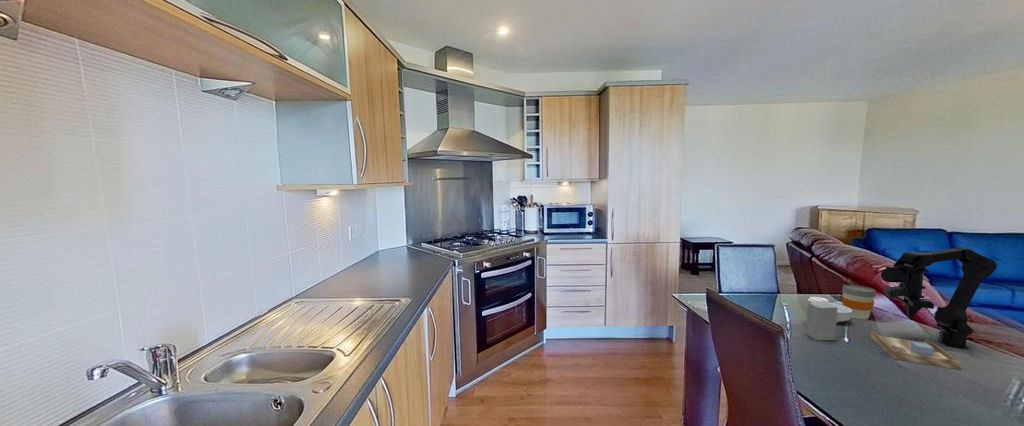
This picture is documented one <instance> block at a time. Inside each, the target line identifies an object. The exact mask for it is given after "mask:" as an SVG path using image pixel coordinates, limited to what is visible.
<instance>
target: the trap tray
mask: <svg viewBox="0 0 1024 426" xmlns="http://www.w3.org/2000/svg"><path fill="white" fill-rule="evenodd" d="M870 338H871V340H872V341H874V342H875V343H876V344H877V345H878V346H879V347H880V348H881V349H882V350H883V351H884V352H885V353H886V354H888V355H889V356H890V357H891V358H892V359H893V360H898V361H906V362H910V363H918V364H924V365H929V366H936V367H941V368H942V367H943V368H947V369H954V370H961V361H960V360H959V359H957V358H956V357H954V355H951V354H950V353H949V352H948V351H945V350H944V349H943V348H942V347H940V346H939V345H937V344H936V343H934V342H933V341H931V340H930V339H929V338H925V339H924V341H920V340H919V341H918V340H913V339H911V340H910V339H905V338H898V337H891V336H883V335H879V334H877V332H875V331H874V330H873V331H870ZM911 342H918V343H925V344H928V345H930V346H931V347H932V348H934V352H933V357H932V356H925V355H919V354H912V353H911V352H910V351H911Z"/></svg>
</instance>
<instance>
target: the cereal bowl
mask: <svg viewBox="0 0 1024 426" xmlns="http://www.w3.org/2000/svg"><path fill="white" fill-rule="evenodd" d="M829 303H830V304H832V305H833V306H836V307H837V308H838V310H837V322H836V324H837V323H840V322H845V321H849V320H850V319H851V318H852V317H851V316H852V312H853V311H852V310H851V309H850V308H848V307H846V306H844V305H843V304H842V305H841V304H839V303H835V302H829Z"/></svg>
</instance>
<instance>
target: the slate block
mask: <svg viewBox="0 0 1024 426" xmlns="http://www.w3.org/2000/svg"><path fill="white" fill-rule="evenodd" d="M910 352H911V353H912V354H919V355H925V356H932V357H933V352H934V348H932V347H931V346H930V345H928V344H925V343H918V342H911V351H910Z"/></svg>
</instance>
